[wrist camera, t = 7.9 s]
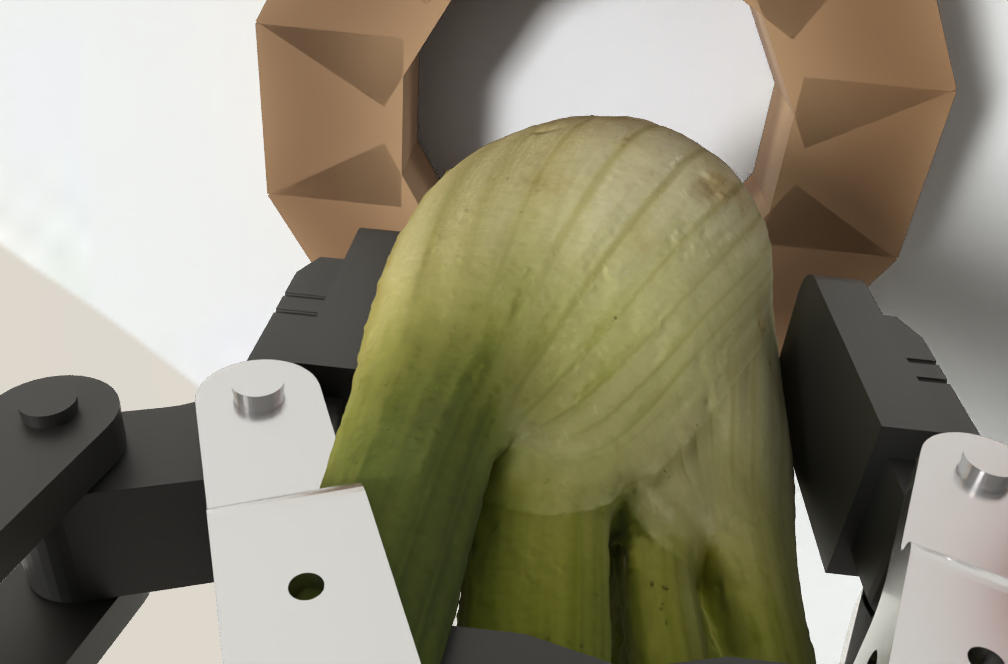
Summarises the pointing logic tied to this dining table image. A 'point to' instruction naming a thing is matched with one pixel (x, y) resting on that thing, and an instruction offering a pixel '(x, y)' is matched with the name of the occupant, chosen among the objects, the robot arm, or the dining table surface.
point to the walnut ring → (773, 184)
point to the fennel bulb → (582, 404)
